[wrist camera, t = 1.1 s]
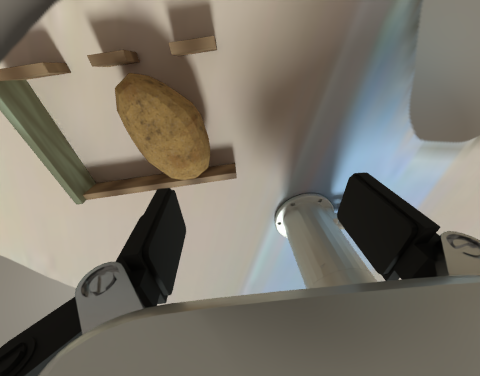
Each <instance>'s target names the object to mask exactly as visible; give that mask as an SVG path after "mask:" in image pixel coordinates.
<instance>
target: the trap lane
mask: <svg viewBox="0 0 480 376" xmlns="http://www.w3.org/2000/svg"><path fill="white" fill-rule="evenodd" d="M169 47H170V51H171V54H173V55H176V56H182V55H188V54H195V53H201V52H208V51H214V50H217V47H216V40H215V37H214V36H209V37H202V38H196V39H189V40H183V41H177V42H170V43H169ZM87 56H88V58H89V60H90V63H91V65H92V66H97V67H111V66H117V65H124V64H130V63H137V62H140V61H139V59H138V56H137V53H136V52H132V51H127V50H119V51H112V52H106V53H100V54H93V55H87ZM65 73H71V72H70V70H69V68H68V66H67V64H66V63H45V62H42V63H35V64H29V65H23V66H16V67H10V68H3V69H0V110H1V112H2V113H3V114H4V115H5V117H6V118H7V119H8V120H9V122H10V123H11V124H12V125H13V127H14V128H15V129H16V130H17V132H18V133H19V134H20V135H21V136H22V138H23V139H24V140H25V141H26V143H27V144H28V145H29V146H30V148H31V149H32V150H33V151H34V153H35V154H36V155H37V156H38V158H39V159H40V160H41V161H42V163H43V164H44V165H45V166H46V167H47V169H48V170H49V171H50V172H51V174H52V175H53V176H54V177H55V179H56V180H57V181H58V182H59V184H60V185H61V186H62V187H63V189H64V190H65V191H66V192H67V193H68V195H69V196H70V197H71V198H72V200H73V201H74V202H75V203H76V204H83V203H84V202H85V201H86V200H89V199H96V198H103V197H110V196H117V195H124V194H131V193H137V192H144V191H151V190H157V189H160V188H172V187H179V186H186V185H193V184H200V183H207V182H214V181H221V180H228V179H234V178H237V177H236V167H235V163H234V164H227V165H220V166H213V167H208V168H207V169H206V170H205V171H204V172H202V173H201V174H200V175H199V176H198V177H196V178H193V179H187V180H179V179H174V178H171V177H169V176H168V175H167V174H158V175H151V176H144V177H137V178H131V179H124V180H117V181H110V182H103V183H95V182H94V180H93V179H92V177H91V176H90V174H89V173H88V171H87V170H86V168H85V167H84V165H83V164H82V162H81V161H80V159H79V158H78V157H77V155H76V154H75V152H74V151H73V149H72V148H71V146H70V145H69V143H68V142H67V140H66V139H65V137H64V136H63V134H62V133H61V131H60V130H59V128H58V127H57V125H56V124H55V122H54V121H53V120H52V118H51V117H50V115H49V114H48V112H47V111H46V109H45V108H44V106H43V105H42V103H41V102H40V100H39V99H38V97H37V96H36V94H35V93H34V91H33V90H32V88H31V87H30V85H29V84H28V82H27V81H26V80H27V79H33V78H40V77H46V76H52V75H59V74H65Z"/></svg>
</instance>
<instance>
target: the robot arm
mask: <svg viewBox="0 0 480 376" xmlns="http://www.w3.org/2000/svg"><path fill="white" fill-rule="evenodd" d="M338 220H339V221H338ZM275 225H276V228H277V230H278V232H279V233H280V234H281V235H283V236H285V237H287V238H288V240H289V243H290V246H291V248H292V251H293V254H294V256H295V259H296V262H297V265H298V267H299V270H300V273H301V275H302V278H303V281H304V284H305V286H306V289H299V290H289V291H279V292H269V293H260V294H250V295H241V296H231V297H221V298H212V299H204V300H196V301H187V302H179V303H171V304H165V305H159V306H157V304H162V303H166V301H167V297H168V295H171V293H172V291H173V286H174V282H175V278H176V273H177V269H178V265H179V260H180V256H181V252H182V247H183V243H184V239H185V234H186V226H185V223H184V220H183V216H182V213H181V210H180V206H179V203H178V200H177V196H176V193H175V191H174V190H171V189H170V188H160V189H157V191H156V193H155V195H154V196H153V198H152V200H151V202H150V204H149V206H148V207H147V209H146V211H145V213H144V215H143V216H141V217H140V219H139V221H138V222H137V224H136V226H135V228H134V230H133V231H132V233H131V235H130V237H129V239H128V240H127V242H126V244H125V246H124V248H123V249H122V251H121V253H120V255H119V257H118V258H117V260H116V262H108V263H104V264H102V265H99V266H97V267H95V268H94V269H93V270H91V271H90V272H88V273H87V274H86V275H85V276H84V277H83V278H82V280H81V281H80V282H79V284H78V286H77V288H76V292H75V297H74V298H72V299H71V300H69V301H68V302H66V303H65V304H63V305H62V306H60V307H59V308H57V309H56V310H54V311H53V312H51V313H50V314H48V315H47V316H46V317H44V318H43V319H41V320H40V321H38V322H37V323H35V324H34V325H32V326H31V327H29V328H28V329H26V330H25V331H23V332H22V333H20V334H19V335H17V336H16V337H14V338H13V339H11V340H10V341H8V342H7V343H6V344H4V345H3V346H2V347H1V348H0V376H480V240H478V239H476V238H474V237H472V236H469V235H466V234H463V233H459V232H453V231H447V232H444V233H442V234H441V235H440V236H439V235H438V234H437V233H436V232H437V231H438V230H439V228H440V226H438V225H437V224H436V223H434V222H433V221H432V220H430V219H429V218H428V217H426V216H425V215H424V214H422V213H421V212H420V211H418V210H417V209H415V208H414V207H413V206H411V205H410V204H409V203H407V202H406V201H405V200H403V199H402V198H401V197H399V196H398V195H397V194H395V193H394V192H393V191H391V190H390V189H388V188H387V187H386V186H384V185H383V184H382V183H380V182H379V181H378V180H376V179H375V178H374V177H372V176H371V175H370V174H368V173H355V174H353V175H352V176H351V177H350V178H349V180H348V183H347V186H346V189H345V192H344V195H343V198H342V200H341V203H340V206H339V209H338V212H337V213H334V208H333V205H332V204H331V202H330V201H329V200H328V199H327V198H326V197H324V196H322V195H319V194H313V193H308V194H302V195H298V196H295V197H293V198H291V199H289V200H288V201H286V202H285V203H284V204H283V205H282V206H281V207H280V208H279V209H278V211H277V213H276V216H275ZM340 229H345V230H346V231H347V233H348V234H349V235H350V237H351V238H352V239H353V241H354V242H355V243H356V245H357V246H358V247H359V249H360V250H361V251H362V253H363V254H364V255H365V257H366V258H367V259H368V261H369V262H370V263H371V265H372V266H373V267H374V269H375V270H376V271H377V272H378V273H379V274H381V275H382V276H383V278H384V279H385V280H386V281H382V282H377V280H376V279H375V277H374V276H373V275H372V274H371V272H370V271H369V269H368V268H367V267H366V265H365V264H364V262H363V261H362V260H361V258H360V257H359V255H358V254H357V253H356V251H355V250H354V248H353V247H352V246H351V244H350V243H349V241H348V240H347V238H346V237H345V236H344V234H343V233H342V231H341V230H340ZM399 278H401V279H402V280H398V279H399Z"/></svg>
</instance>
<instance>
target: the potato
mask: <svg viewBox="0 0 480 376" xmlns="http://www.w3.org/2000/svg"><path fill="white" fill-rule="evenodd" d="M115 94H116V105H117V111H118V113H119V116H120V118H121V120H122V122H123V124H124V126H125V128H126V130H127V131H128V133H129V135H130V137H131V138H132V140H133V142H134V143H135V145H136V146H137V148H138V149H139V151H140V152H141V153H142V154H143V156H144V157H145V158H146V159H147V160H148V162H150V163H151V164H152V165H154V166H155V167H156V168H158V169H159V170H161V171H162V172H164V173H165V174H167V175H168V176H169V177H171V178H174V179H179V180H187V179H193V178H196V177H198V176H199V175H200V174H201V173H202V172H204V171H205V170H206V169H207V168H208V166H209V159H210V145H209V138H208V135H207V132H206V129H205V126H204V123H203V120H202V117H201V115H200V113H199V112H198V110H197V109H196V108H195V106H194V105H193V104H192V102H190V101H189V100H187V99H186V98H185V97H183V96H182V95H180V94H179V93H177V92H176V91H174V90H173V89H172V88H170V87H169V86H167V85H166V84H164V83H162V82H160V81H158V80H156V79H154V78H152V77H150V76H147V75H140V74H133V73H129V74H128V75H127V76H126V77H125V78H124V79H123V80H122V81H121V82H120V83H119V84H118V85H117V86H116V88H115Z"/></svg>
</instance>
